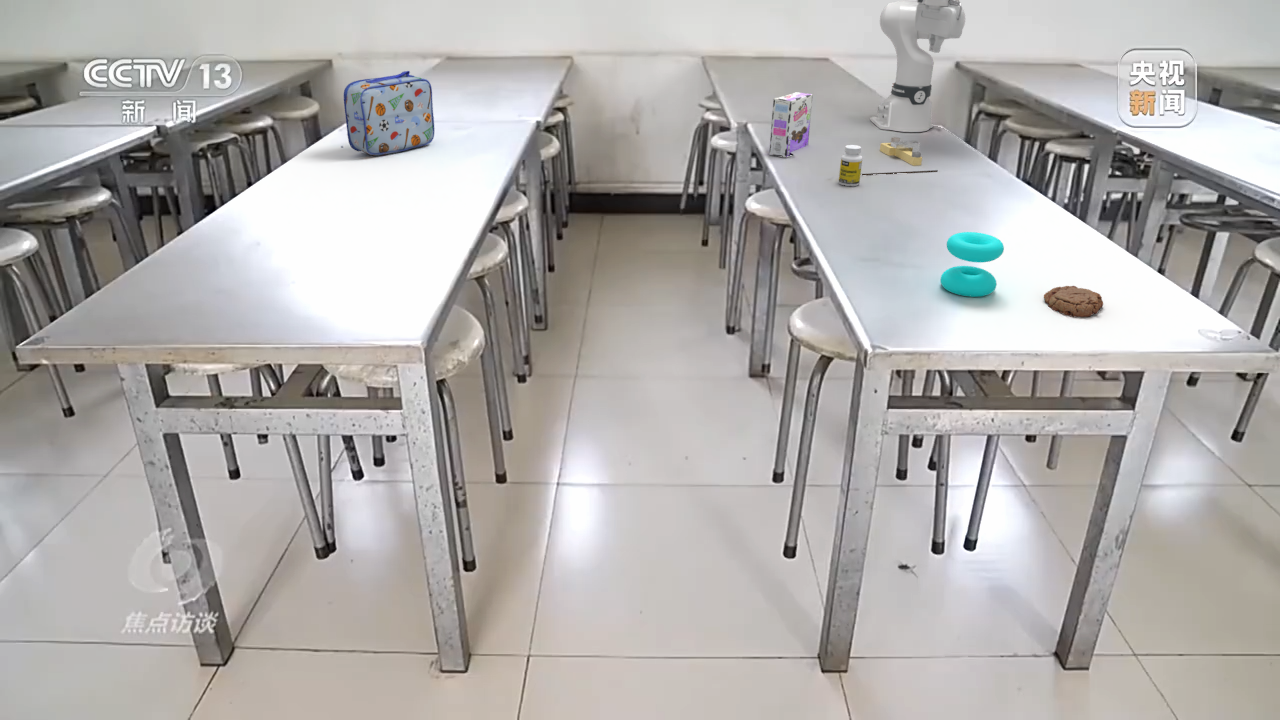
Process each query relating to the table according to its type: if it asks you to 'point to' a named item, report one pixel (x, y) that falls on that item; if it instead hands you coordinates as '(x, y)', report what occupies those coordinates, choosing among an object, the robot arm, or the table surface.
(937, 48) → the robot arm
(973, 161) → the table surface
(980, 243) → the cyan spool
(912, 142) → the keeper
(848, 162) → the supplement bottle
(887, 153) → the link
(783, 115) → the candy box
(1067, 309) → the cookie
